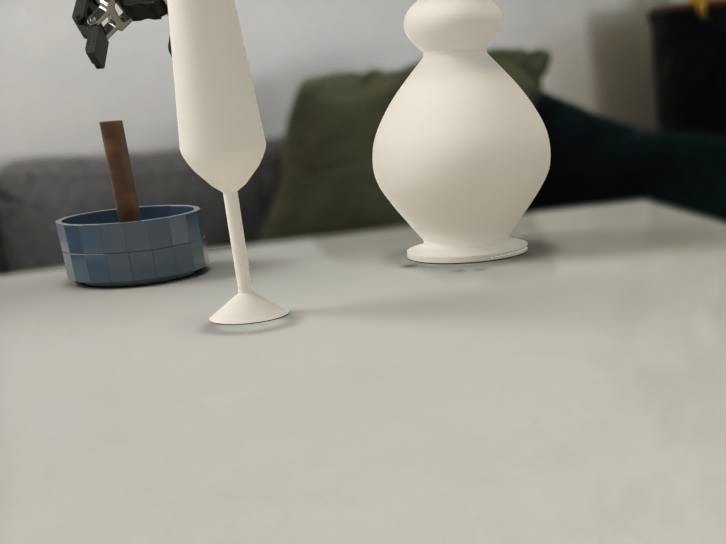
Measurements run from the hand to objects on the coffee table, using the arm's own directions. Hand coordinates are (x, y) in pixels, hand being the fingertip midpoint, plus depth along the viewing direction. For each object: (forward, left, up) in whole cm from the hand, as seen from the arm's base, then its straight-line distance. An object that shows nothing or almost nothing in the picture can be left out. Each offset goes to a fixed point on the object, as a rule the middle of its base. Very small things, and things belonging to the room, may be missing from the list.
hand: (135, 60), depth 115 cm
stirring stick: (-1, -9, -19) cm, 21 cm away
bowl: (-1, -9, -20) cm, 22 cm away
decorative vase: (+33, -9, -20) cm, 39 cm away
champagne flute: (+14, -34, -20) cm, 41 cm away
